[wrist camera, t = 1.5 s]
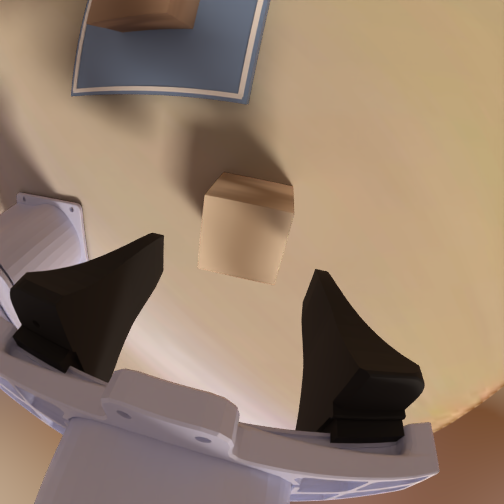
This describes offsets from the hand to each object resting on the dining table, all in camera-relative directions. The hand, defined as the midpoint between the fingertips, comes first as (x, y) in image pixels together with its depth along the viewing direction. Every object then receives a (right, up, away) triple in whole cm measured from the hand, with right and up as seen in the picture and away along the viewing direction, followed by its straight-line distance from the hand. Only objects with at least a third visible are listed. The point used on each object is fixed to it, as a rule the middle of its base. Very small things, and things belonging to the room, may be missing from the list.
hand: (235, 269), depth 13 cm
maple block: (+1, +4, +6) cm, 7 cm away
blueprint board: (-4, +17, -1) cm, 18 cm away
